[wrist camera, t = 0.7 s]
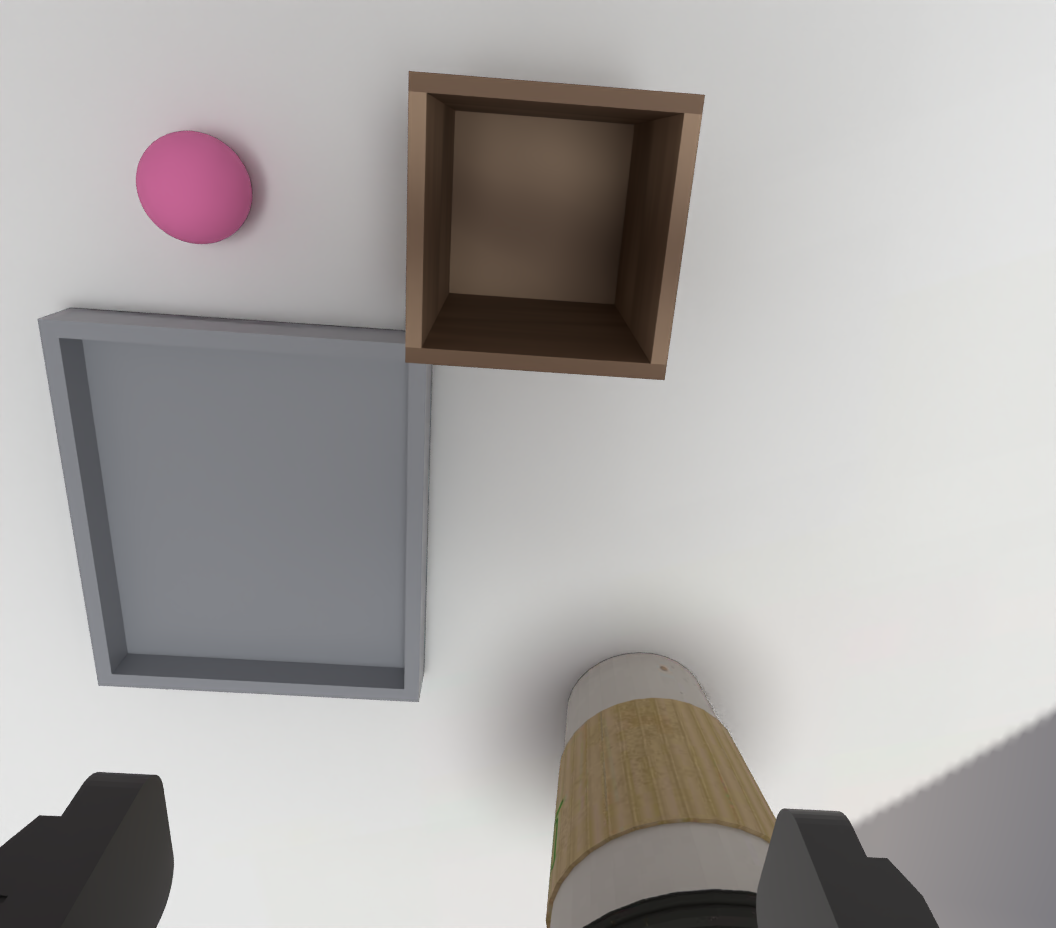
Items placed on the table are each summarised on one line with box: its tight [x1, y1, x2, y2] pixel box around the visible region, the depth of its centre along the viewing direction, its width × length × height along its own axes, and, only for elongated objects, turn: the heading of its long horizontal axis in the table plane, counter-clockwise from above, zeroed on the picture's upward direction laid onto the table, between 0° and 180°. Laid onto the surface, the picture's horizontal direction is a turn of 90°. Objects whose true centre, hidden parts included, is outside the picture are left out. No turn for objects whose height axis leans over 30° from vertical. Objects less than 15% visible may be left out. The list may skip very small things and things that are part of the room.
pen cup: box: [405, 71, 705, 380], centre depth 23 cm, size 7×7×9 cm
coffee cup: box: [546, 653, 776, 928], centre depth 28 cm, size 10×10×15 cm
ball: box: [136, 131, 252, 244], centre depth 25 cm, size 3×3×3 cm
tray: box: [38, 308, 432, 702], centre depth 30 cm, size 15×13×2 cm
